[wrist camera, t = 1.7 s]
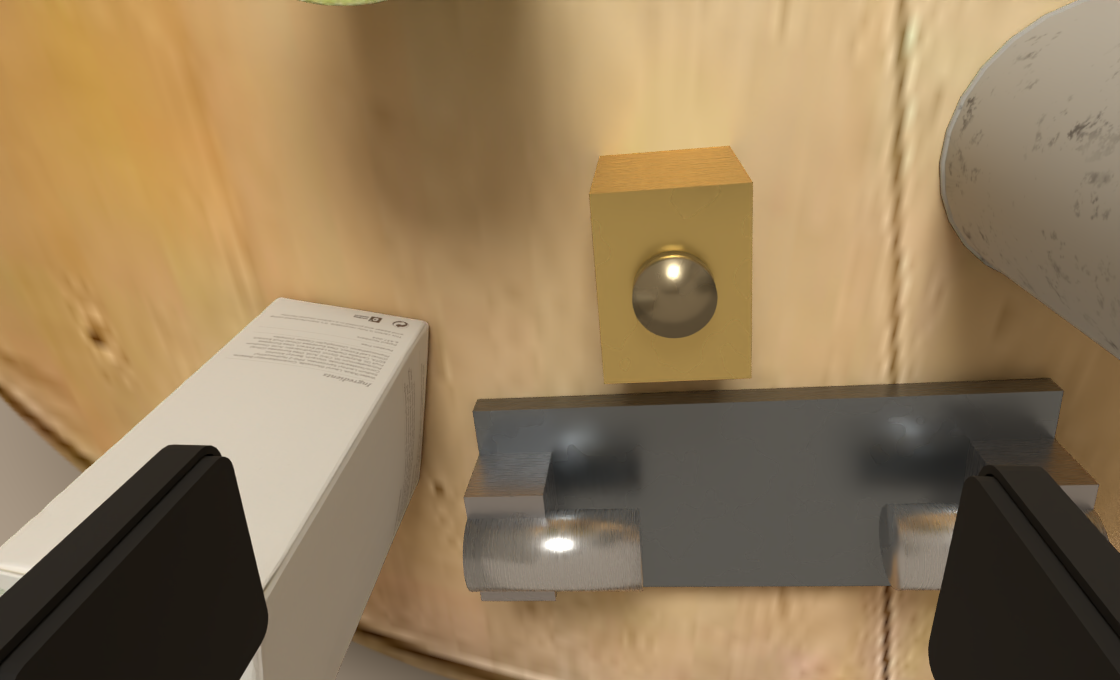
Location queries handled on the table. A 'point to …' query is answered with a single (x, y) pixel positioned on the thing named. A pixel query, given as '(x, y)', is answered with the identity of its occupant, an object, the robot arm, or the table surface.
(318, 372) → the skincare box
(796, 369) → the table surface
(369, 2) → the plant pot
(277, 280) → the table surface
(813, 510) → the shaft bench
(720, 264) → the coupler
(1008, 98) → the grey can
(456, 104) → the table surface
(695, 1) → the table surface
